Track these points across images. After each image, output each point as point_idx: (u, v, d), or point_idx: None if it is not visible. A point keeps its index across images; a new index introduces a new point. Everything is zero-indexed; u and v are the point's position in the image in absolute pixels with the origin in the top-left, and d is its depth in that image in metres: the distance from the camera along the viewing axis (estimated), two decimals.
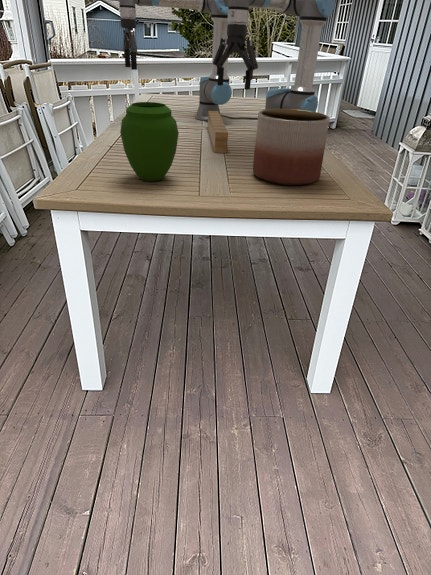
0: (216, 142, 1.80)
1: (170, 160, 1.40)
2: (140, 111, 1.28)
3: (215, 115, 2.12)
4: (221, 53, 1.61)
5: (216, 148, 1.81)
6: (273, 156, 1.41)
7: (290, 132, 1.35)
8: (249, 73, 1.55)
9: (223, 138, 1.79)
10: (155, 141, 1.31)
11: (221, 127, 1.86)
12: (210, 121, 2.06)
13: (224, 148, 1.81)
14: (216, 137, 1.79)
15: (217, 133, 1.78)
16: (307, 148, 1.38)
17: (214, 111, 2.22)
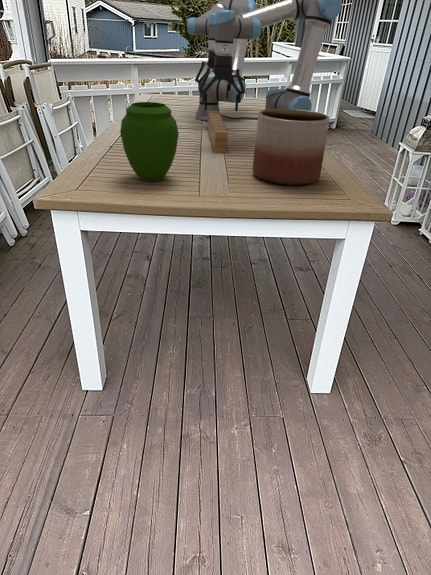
0: (216, 142, 1.80)
1: (170, 160, 1.40)
2: (140, 111, 1.28)
3: (215, 115, 2.12)
4: (205, 81, 1.74)
5: (216, 148, 1.81)
6: (273, 156, 1.41)
7: (290, 132, 1.35)
8: (239, 97, 1.77)
9: (223, 138, 1.79)
10: (155, 141, 1.31)
11: (221, 127, 1.86)
12: (210, 121, 2.06)
13: (224, 148, 1.81)
14: (216, 137, 1.79)
15: (217, 133, 1.78)
16: (307, 148, 1.38)
17: (214, 111, 2.22)
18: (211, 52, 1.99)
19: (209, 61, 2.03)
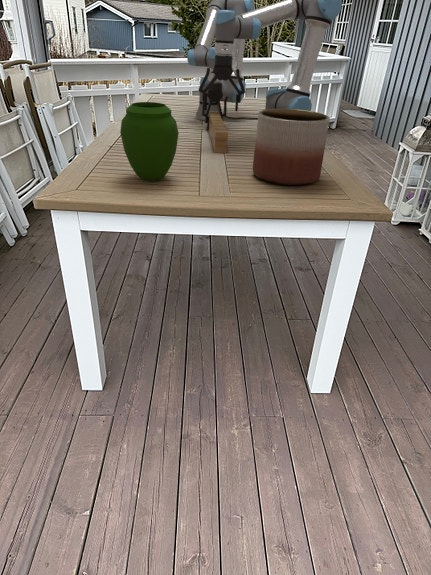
0: (216, 142, 1.80)
1: (170, 160, 1.40)
2: (140, 111, 1.28)
3: (215, 115, 2.12)
4: (205, 81, 1.74)
5: (216, 148, 1.81)
6: (273, 156, 1.41)
7: (290, 132, 1.35)
8: (239, 97, 1.77)
9: (223, 138, 1.79)
10: (155, 141, 1.31)
11: (221, 127, 1.86)
12: (210, 121, 2.06)
13: (224, 148, 1.81)
14: (216, 137, 1.79)
15: (217, 133, 1.78)
16: (307, 148, 1.38)
17: (214, 111, 2.22)
18: None
19: (209, 92, 2.10)
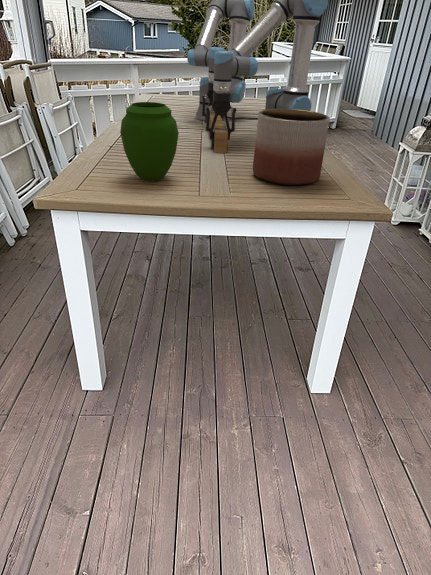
0: (216, 142, 1.80)
1: (170, 160, 1.40)
2: (140, 111, 1.28)
3: None
4: None
5: (216, 148, 1.81)
6: (273, 156, 1.41)
7: (290, 132, 1.35)
8: (228, 135, 1.85)
9: (223, 138, 1.79)
10: (155, 141, 1.31)
11: (221, 127, 1.86)
12: (210, 121, 2.06)
13: (224, 148, 1.81)
14: (216, 137, 1.79)
15: (217, 133, 1.78)
16: (307, 148, 1.38)
17: None
18: (211, 84, 2.06)
19: (209, 92, 2.10)
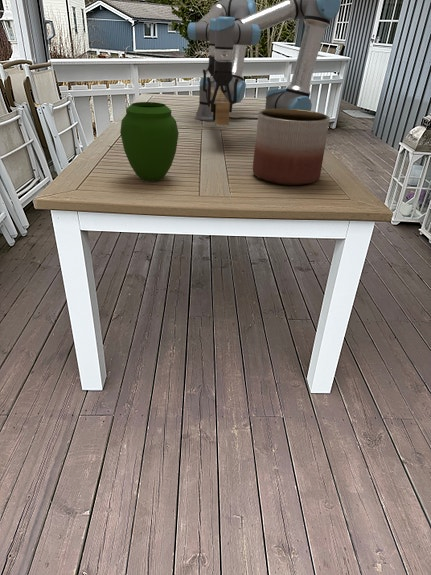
0: (217, 113, 1.74)
1: (170, 160, 1.40)
2: (140, 111, 1.28)
3: None
4: None
5: (217, 120, 1.75)
6: (273, 156, 1.41)
7: (290, 132, 1.35)
8: (230, 107, 1.79)
9: (225, 109, 1.73)
10: (155, 141, 1.31)
11: (222, 99, 1.80)
12: (211, 96, 2.00)
13: (226, 120, 1.75)
14: (217, 108, 1.72)
15: (218, 104, 1.72)
16: (307, 148, 1.38)
17: None
18: (212, 57, 2.00)
19: (210, 66, 2.04)
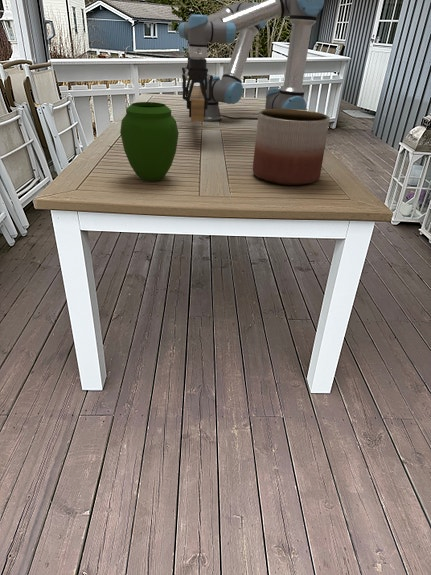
0: (192, 110, 1.76)
1: (170, 160, 1.40)
2: (140, 111, 1.28)
3: (195, 88, 2.08)
4: (185, 87, 1.78)
5: (193, 116, 1.77)
6: (273, 156, 1.41)
7: (290, 132, 1.35)
8: (206, 104, 1.82)
9: (200, 106, 1.75)
10: (155, 141, 1.31)
11: (198, 96, 1.83)
12: None
13: (201, 116, 1.78)
14: (192, 105, 1.75)
15: (193, 101, 1.74)
16: (307, 148, 1.38)
17: None
18: None
19: None
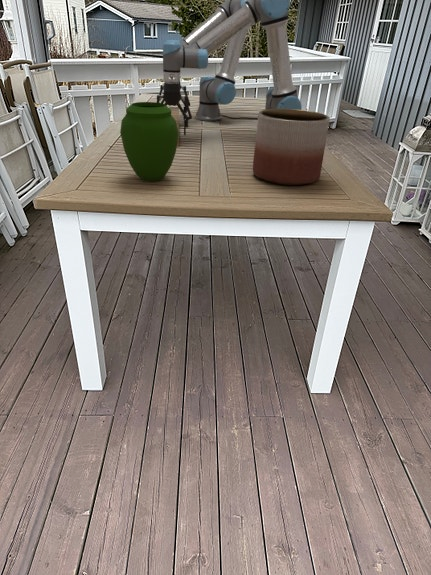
0: None
1: (170, 160, 1.40)
2: (140, 111, 1.28)
3: (174, 111, 2.18)
4: None
5: None
6: (273, 156, 1.41)
7: (290, 132, 1.35)
8: (186, 122, 1.90)
9: None
10: (155, 141, 1.31)
11: None
12: None
13: None
14: None
15: None
16: (307, 148, 1.38)
17: (175, 107, 2.28)
18: None
19: None
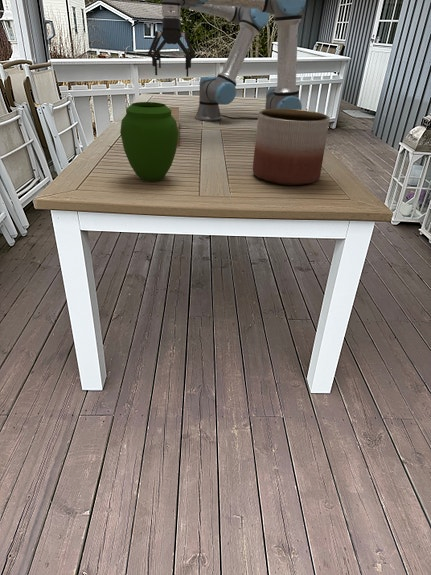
0: None
1: (170, 160, 1.40)
2: (140, 111, 1.28)
3: (174, 111, 2.18)
4: (154, 45, 1.73)
5: None
6: (273, 156, 1.41)
7: (290, 132, 1.35)
8: (189, 62, 1.77)
9: None
10: (155, 141, 1.31)
11: None
12: None
13: None
14: None
15: None
16: (307, 148, 1.38)
17: (175, 107, 2.28)
18: None
19: None
